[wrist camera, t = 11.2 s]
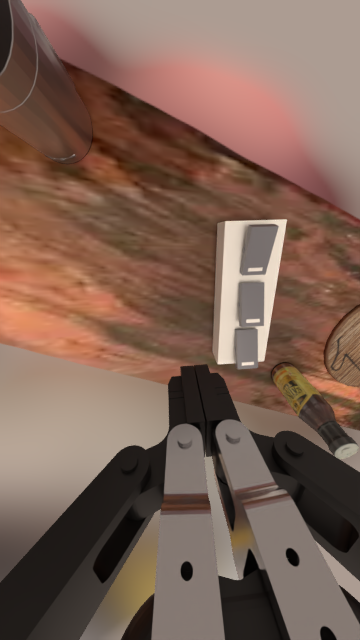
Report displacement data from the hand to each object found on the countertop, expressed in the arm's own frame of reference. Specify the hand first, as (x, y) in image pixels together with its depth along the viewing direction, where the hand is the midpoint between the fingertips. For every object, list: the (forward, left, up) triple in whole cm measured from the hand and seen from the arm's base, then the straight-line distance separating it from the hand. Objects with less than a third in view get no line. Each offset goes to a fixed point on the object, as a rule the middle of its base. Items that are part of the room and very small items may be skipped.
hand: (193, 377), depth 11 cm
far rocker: (+14, +14, -25) cm, 31 cm away
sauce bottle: (+25, +26, -31) cm, 48 cm away
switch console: (+4, +13, -30) cm, 33 cm away
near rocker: (-5, +13, -25) cm, 29 cm away
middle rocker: (+5, +14, -25) cm, 28 cm away
